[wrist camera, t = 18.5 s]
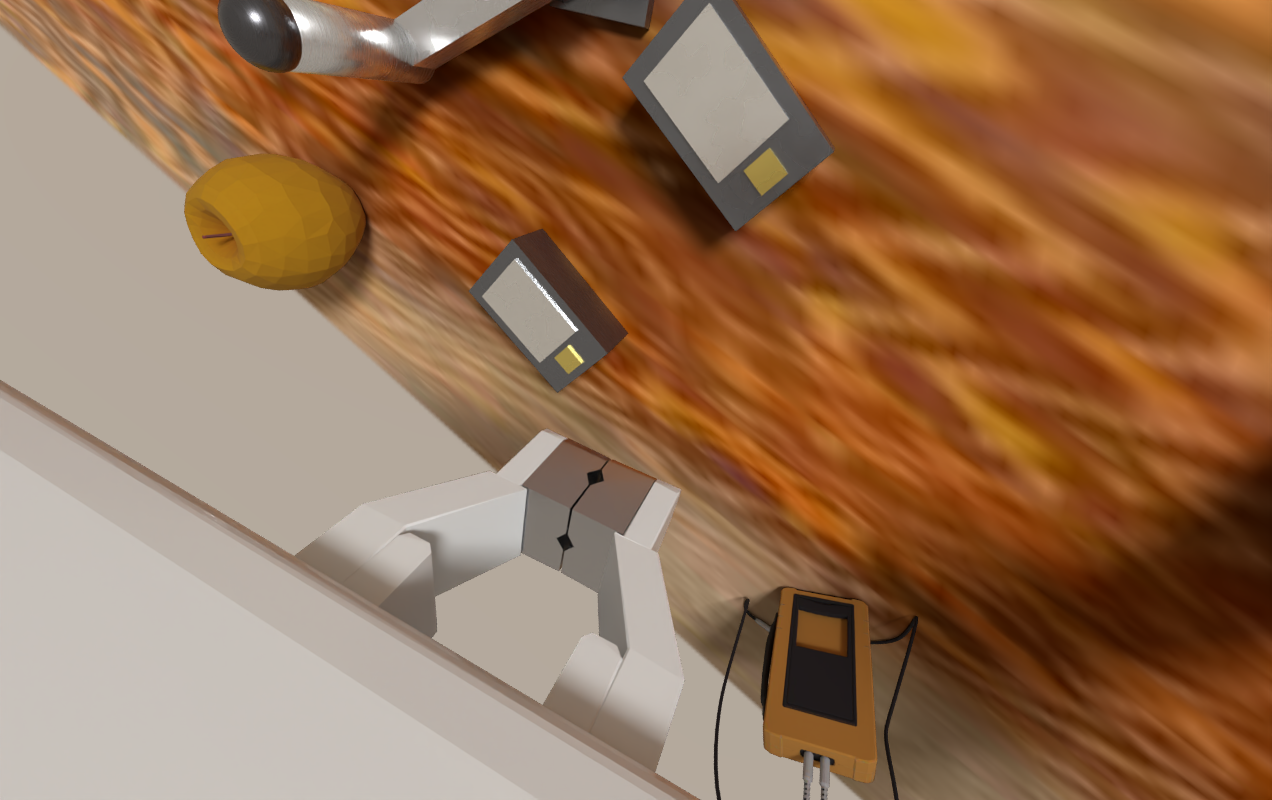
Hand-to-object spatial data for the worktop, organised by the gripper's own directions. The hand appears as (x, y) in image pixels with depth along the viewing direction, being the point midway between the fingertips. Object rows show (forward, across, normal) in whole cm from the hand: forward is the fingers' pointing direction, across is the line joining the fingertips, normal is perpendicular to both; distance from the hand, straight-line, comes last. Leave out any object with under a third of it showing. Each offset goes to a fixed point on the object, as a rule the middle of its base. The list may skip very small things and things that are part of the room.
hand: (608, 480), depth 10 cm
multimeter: (+26, -16, +32) cm, 44 cm away
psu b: (+25, +5, -6) cm, 26 cm away
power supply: (+25, +14, +10) cm, 30 cm away
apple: (+24, +35, +8) cm, 44 cm away
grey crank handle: (+23, +20, -8) cm, 32 cm away
